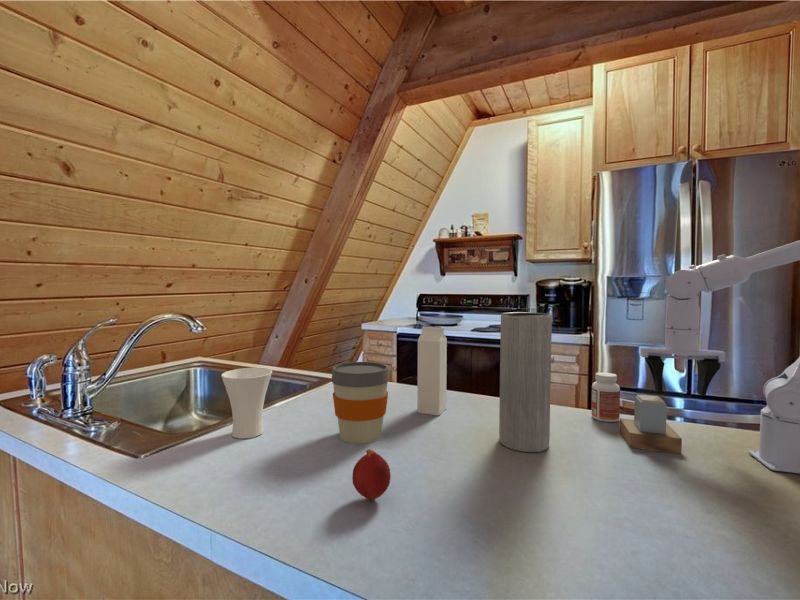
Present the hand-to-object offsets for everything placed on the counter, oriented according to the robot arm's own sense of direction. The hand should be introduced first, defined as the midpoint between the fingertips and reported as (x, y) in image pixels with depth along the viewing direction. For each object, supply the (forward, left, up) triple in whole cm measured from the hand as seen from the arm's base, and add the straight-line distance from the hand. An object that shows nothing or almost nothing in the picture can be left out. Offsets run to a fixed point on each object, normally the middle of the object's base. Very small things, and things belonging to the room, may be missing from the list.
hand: (679, 393), depth 82 cm
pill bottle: (+12, -11, -11) cm, 19 cm away
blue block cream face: (+6, +3, -7) cm, 10 cm away
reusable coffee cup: (+65, +18, -11) cm, 68 cm away
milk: (+54, -3, -11) cm, 55 cm away
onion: (+53, +41, -11) cm, 68 cm away
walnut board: (+6, +2, -10) cm, 12 cm away
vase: (+31, +11, -11) cm, 35 cm away
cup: (+89, +25, -11) cm, 93 cm away
